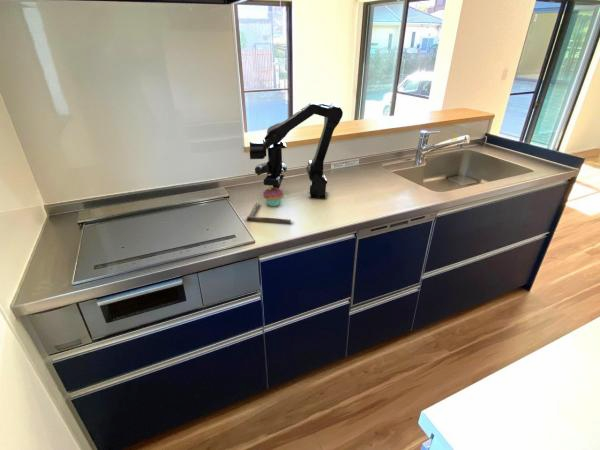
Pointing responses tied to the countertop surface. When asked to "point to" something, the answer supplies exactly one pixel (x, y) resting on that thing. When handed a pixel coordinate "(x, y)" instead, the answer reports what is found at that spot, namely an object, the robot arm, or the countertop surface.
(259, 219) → the corner guide
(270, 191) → the cupcake
